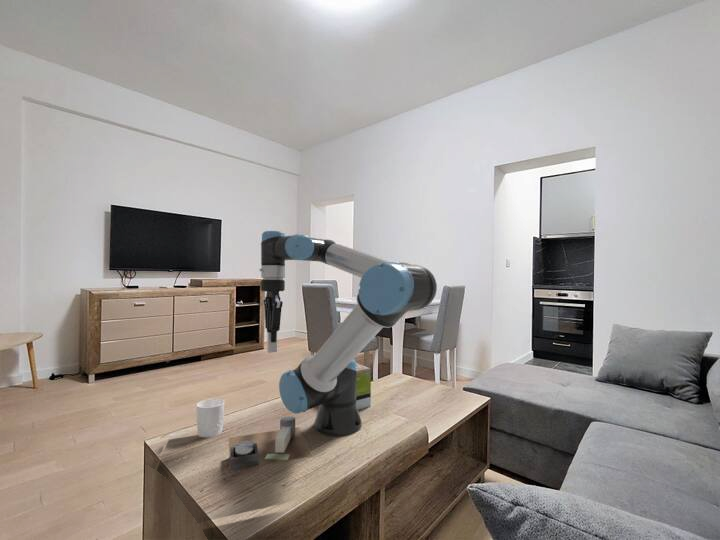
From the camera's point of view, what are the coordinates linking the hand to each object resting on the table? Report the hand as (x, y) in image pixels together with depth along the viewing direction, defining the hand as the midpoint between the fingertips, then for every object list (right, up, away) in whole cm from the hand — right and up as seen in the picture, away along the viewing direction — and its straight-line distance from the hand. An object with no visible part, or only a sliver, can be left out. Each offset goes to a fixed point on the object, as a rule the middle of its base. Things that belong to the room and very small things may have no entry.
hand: (272, 351), depth 109 cm
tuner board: (+3, -24, -15) cm, 28 cm away
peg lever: (+7, -22, -13) cm, 27 cm away
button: (-1, -21, -23) cm, 31 cm away
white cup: (-17, -24, -6) cm, 31 cm away
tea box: (+24, -25, +22) cm, 41 cm away
